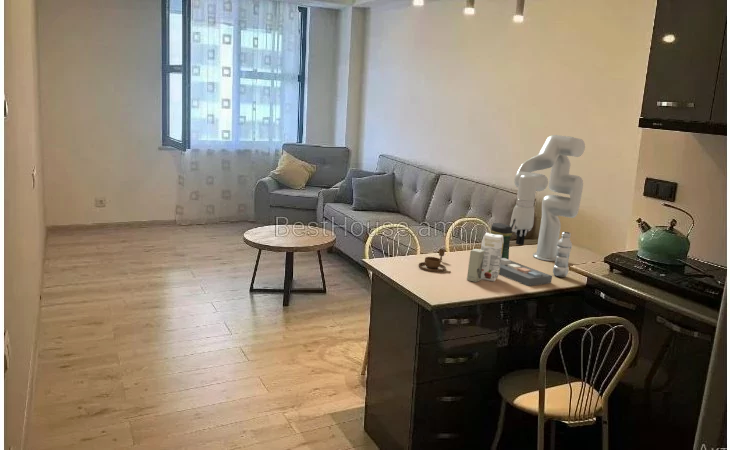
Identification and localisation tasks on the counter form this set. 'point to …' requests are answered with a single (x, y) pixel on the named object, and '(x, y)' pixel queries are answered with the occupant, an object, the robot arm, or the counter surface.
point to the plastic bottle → (562, 255)
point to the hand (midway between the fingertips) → (519, 244)
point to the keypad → (524, 275)
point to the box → (475, 265)
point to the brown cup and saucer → (434, 263)
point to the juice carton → (491, 256)
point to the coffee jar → (506, 232)
